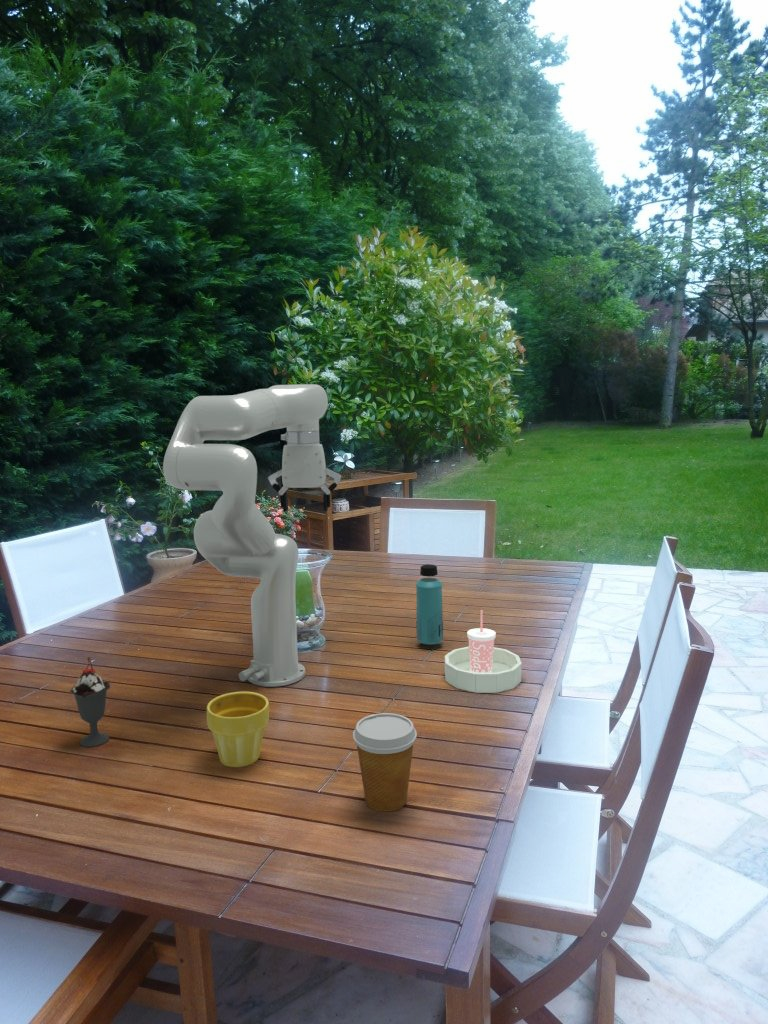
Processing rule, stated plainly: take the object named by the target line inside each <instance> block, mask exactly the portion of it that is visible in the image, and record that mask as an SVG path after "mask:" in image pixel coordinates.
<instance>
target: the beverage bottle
mask: <svg viewBox="0 0 768 1024" xmlns="http://www.w3.org/2000/svg"><path fill="white" fill-rule="evenodd" d="M419 575H420V576H422V577H423V578H421V579H419V580H418V581H417V582H416V584H415V586H416V587H415V588H416V589H415V591H416V596H415V597H416V605H415V608H416V612H415V615H416V625H415V627H416V634H415V635H416V639H417V642H419V644H423V645H437V644H440V643H442V642H443V639H444V620H443V619H444V616H443V615H444V612H443V601H444V600H443V583H442V581H441V580H439V579H438V578H435V576H437V575H438V567H437V565H436V564H423V565H421V566H420V571H419Z"/></svg>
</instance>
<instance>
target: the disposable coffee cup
mask: <svg viewBox="0 0 768 1024" xmlns="http://www.w3.org/2000/svg"><path fill="white" fill-rule="evenodd" d="M417 735H418V732H417V730H416V728H415V725H414V723H413V721H412V720H410V718H408V717H406V716H404V715H401V714H398V713H392V712H389V713H388V712H382V713H381V712H380V713H373V714H370V715H367V716H364V717H362V718H361V719H359V720H358V721H357V723H356V725H355V728H354V730H353V732H352V737H353V740H354V743H355V745H356V750H357V756H358V762H359V767H360V774H361V781H362V786H363V792H364V793H363V794H364V800H365V804H366V805H367V807H369V808H371V809H372V810H375V811H378V812H393V811H397V810H400V809H402V808H403V807H404V806H405V805H406V803H407V801H408V792H409V782H410V775H411V768H412V767H411V766H412V758H413V750H414V744H415V741H416V740H417Z"/></svg>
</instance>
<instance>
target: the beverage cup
mask: <svg viewBox="0 0 768 1024" xmlns="http://www.w3.org/2000/svg"><path fill="white" fill-rule="evenodd" d="M483 612H484V610H483V609H480V617H479V618H480V627H478V628H471V629H468V630H467V633H466V636H467V638H468V647H469V656H470V671H471V672H476V673H492V663H493V649H494V647H495V646H494V645H495V639H496V638H497V637H496V635H497V632H496V631H495V630H492V629H490V628H486V627H484V626H483V625H484V624H483V623H484V620H483V617H484V616H483V614H484V613H483ZM483 627H484V628H483Z"/></svg>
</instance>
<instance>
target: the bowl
mask: <svg viewBox="0 0 768 1024" xmlns="http://www.w3.org/2000/svg"><path fill="white" fill-rule="evenodd" d="M522 664H523V663H522V660H521V658H520V656H519V655H518V654H515V653H514V652H512V651H510V650H508V649H505V648H499V647H495V646H494V649H493V663H492V673H476V672H471V671H470V656H469V646H465V647H460V648H455V649H453V650H451V651H450V652H448V653H447V654H445V655H444V678H445V679H444V680H445V682H446V683H448V684H449V685H451V686H452V687H454V688H455V689H458V690H461V691H462V690H463V691H466V692H470V693H476V694H477V693H478V694H480V693H481V694H482V693H483V694H491V693H493V694H497V693H501V692H506V691H509V690H514V689H515V688H516V687H517V686H518V685H519V684H520V683H521V682H522Z"/></svg>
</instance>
